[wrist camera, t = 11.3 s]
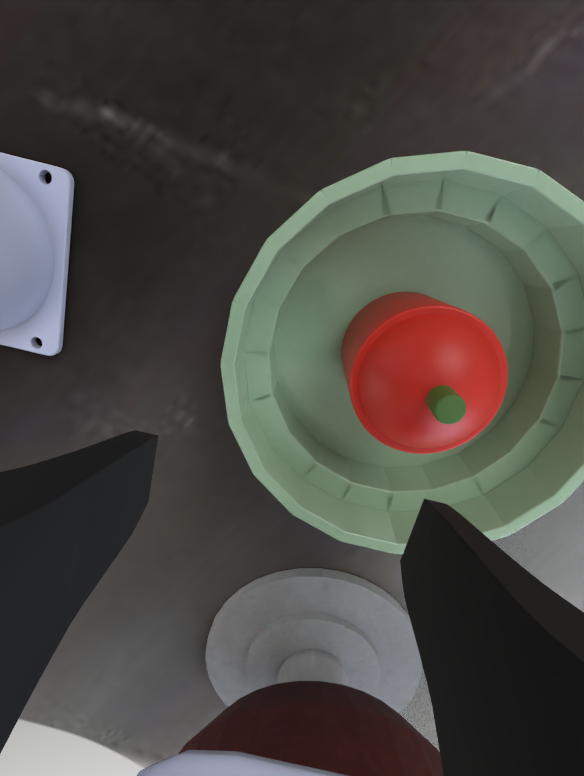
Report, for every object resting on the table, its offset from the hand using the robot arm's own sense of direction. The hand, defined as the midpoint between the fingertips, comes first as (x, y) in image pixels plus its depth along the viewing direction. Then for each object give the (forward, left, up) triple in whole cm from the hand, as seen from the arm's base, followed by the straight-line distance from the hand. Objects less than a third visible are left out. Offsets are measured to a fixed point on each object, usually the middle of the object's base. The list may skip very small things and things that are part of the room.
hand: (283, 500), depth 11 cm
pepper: (+4, +3, -9) cm, 10 cm away
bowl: (+4, +3, -9) cm, 11 cm away
